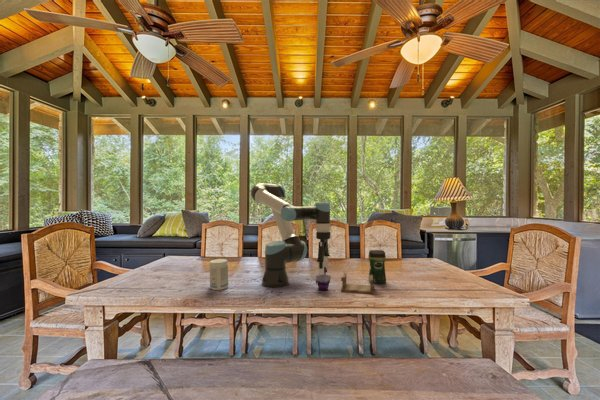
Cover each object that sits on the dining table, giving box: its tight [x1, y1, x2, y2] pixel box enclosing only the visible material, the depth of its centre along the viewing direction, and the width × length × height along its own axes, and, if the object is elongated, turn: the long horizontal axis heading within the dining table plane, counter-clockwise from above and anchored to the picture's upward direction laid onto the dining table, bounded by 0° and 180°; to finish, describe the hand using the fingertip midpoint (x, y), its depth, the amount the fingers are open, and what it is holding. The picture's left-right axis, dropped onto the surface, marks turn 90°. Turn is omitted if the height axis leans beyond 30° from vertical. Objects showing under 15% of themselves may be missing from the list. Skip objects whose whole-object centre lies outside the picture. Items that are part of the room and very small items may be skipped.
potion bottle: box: [315, 267, 332, 292], centre depth 147 cm, size 9×9×12 cm
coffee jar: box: [368, 249, 387, 285], centre depth 160 cm, size 10×8×19 cm
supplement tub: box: [209, 258, 229, 291], centre depth 150 cm, size 10×10×15 cm
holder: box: [340, 272, 375, 295], centre depth 147 cm, size 17×10×7 cm, turn 75°
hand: (323, 271), depth 147 cm, fingers open, 13 cm apart
